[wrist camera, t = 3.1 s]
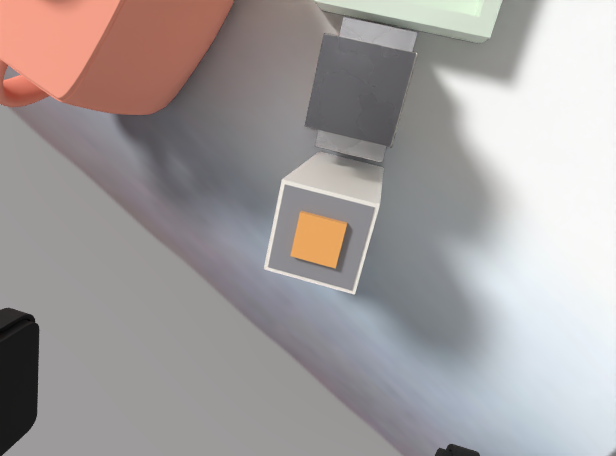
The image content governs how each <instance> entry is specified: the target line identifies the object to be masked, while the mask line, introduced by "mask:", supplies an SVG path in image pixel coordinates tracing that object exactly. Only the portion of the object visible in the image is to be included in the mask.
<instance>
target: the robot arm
mask: <svg viewBox="0 0 616 456" xmlns="http://www.w3.org/2000/svg"><path fill="white" fill-rule="evenodd" d="M38 357H39V326H38V324H37V323H35V318H34V317H33V316H32V315H31V314H27V313H24V312H21V311H18V310H15V309H11V308H4V309H2V310H0V456H2V455H3V454H4V453H5V452H6V451H7V450H8V449H10V448H11V447H12V446H13V445H14V444H15V443H16V442H17V441H18V440H19V439H20V438H22V437H23V436H24V435H25V434H26V433H27V432H28V431H29V430H30V429H31V427H32V426H33V424H34V422H35V420H36V417H37V399H38V398H37V397H38ZM435 456H480V455H479V453H478V452H477V451H473V450H470V449H467V448H464V447H460V446H457V445H454V444H449V445H448V446H447V448H446V450H445V449H442V448H439V449H438V450H437V452H436V454H435Z"/></svg>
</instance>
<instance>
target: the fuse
mask: <svg viewBox="0 0 616 456" xmlns="http://www.w3.org/2000/svg"><path fill="white" fill-rule="evenodd" d="M383 170H384V167H381V166H376V165H372V164H368V163H364V162H360V161H356V160H352V159H348V158H344V157H340V156H336V155H332V154H328V153H324V152H320V151H319V152H318V153H316V154H315V155H314V156H312V157H311V158H310V159H308V160H307V161H306V162H304V163H303V164H302V165H300V166H299V167H298V168H296V169H295V170H294V171H292V172H291V173H290V174H288V175H287V176H286V177H284V178H283V179H282V181H281V186H280V191H279V196H278V201H277V206H276V211H275V216H274V221H273V226H272V231H271V236H270V241H269V246H268V251H267V256H266V261H265V266H264V269H265V270H269V271H272V272H276V273H279V274H283V275H287V276H290V277H294V278H297V279H301V280H304V281H308V282H312V283H315V284H319V285H322V286H326V287H329V288H333V289H337V290H340V291H344V292H347V293H351V294H354V295H355V292H356V289H357V285H358V281H359V278H360V274H361V271H362V267H363V264H364V260H365V256H366V253H367V249H368V246H369V242H370V239H371V235H372V231H373V228H374V224H375V221H376V217H377V214H378V210H379V206H380V200H381V190H382V180H383Z"/></svg>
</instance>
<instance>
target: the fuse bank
mask: <svg viewBox="0 0 616 456" xmlns="http://www.w3.org/2000/svg"><path fill="white" fill-rule="evenodd" d="M417 33H418V32H413V31H408V30H404V29H399V28H394V27H389V26H385V25H380V24H375V23H370V22H366V21H361V20H356V19H351V18H347V17H343V21H342V26H341V30H340V35H339V36H337V35H332V34H327V33H324V36H323V41H322V46H321V50H320V55H319V60H318V65H317V69H316V74H315V79H314V84H313V89H312V93H311V98H310V103H309V108H308V112H307V117H306V122H305V127H307V128H311V129H316V130H318V135H317V139H316V144H315V146H316V147H320V148H324V149H328V150H332V151H336V152H340V153H344V154H348V155H352V156H356V157H360V158H365V159H369V160H373V161H377V162H381V163H382V161H383V158H384V154H385V150H386V147H390V148H392V145H393V141H394V138H395V134H396V130H397V127H398V123H399V120H400V116H401V112H402V109H403V105H404V101H405V98H406V94H407V91H408V87H409V83H410V80H411V76H412V73H413V69H414V65H415V62H416V58H417V55H418V53H415V52H413V48H414V44H415V41H416V37H417Z"/></svg>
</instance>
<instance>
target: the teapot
mask: <svg viewBox="0 0 616 456" xmlns="http://www.w3.org/2000/svg"><path fill="white" fill-rule="evenodd" d="M234 1H235V0H0V104H1V105H4V106H8V107H21V106H26V105H29V104H32V103H35V102H37V101H40V100H42V99H44V98H46V97H48V96H52V97H53V98H55V99H56V100H58V101H60V102H63V103H67V104H70V105H74V106H78V107H82V108H87V109H91V110H96V111H101V112H107V113H114V114H124V115H149V114H153V113H155V112H157V111H159V110H161V109H163V108H165V107H166V106H167V105H168V104H169V103H170V102H171V101H172V100H173V99H174V98H175V96H176V95H177V94H178V92H179V91H180V90H181V89H182V87H183V86H184V84H185V83H186V81H187V80H188V79H189V77H190V76H191V74H192V73H193V71H194V70H195V68H196V67H197V65H198V64H199V63H200V61H201V60H202V58H203V57H204V55H205V53H206V52H207V50H208V49H209V47H210V46H211V44H212V42H213V41H214V39H215V37H216V35H217V34H218V32H219V30H220V28H221V26H222V25H223V23H224V21H225V19H226V17H227V15H228V13H229V11H230V9H231V7H232V5H233V3H234ZM8 65H9V66H10V67H11V68H13V69H14V70H15V71H17V72H18V73H19V74H21V75H19V76H16V77H13V78H10V79H7V80H3V79H4V74H5V71H6V69H7V66H8Z"/></svg>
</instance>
